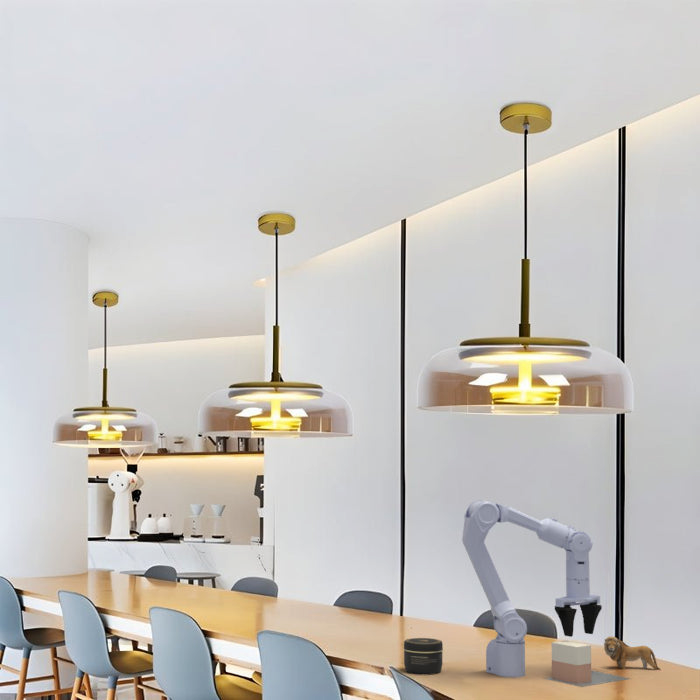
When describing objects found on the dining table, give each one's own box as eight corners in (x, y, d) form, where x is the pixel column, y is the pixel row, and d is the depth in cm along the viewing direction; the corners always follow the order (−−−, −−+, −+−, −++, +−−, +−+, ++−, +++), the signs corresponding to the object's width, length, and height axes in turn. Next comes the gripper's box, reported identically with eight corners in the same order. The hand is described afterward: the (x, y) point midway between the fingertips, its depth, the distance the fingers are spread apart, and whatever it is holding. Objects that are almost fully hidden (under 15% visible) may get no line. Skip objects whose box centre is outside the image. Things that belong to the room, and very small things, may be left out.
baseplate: (543, 682, 241) (543, 678, 241) (592, 674, 252) (592, 670, 252) (581, 691, 232) (581, 686, 232) (631, 682, 242) (631, 678, 242)
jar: (408, 666, 260) (408, 636, 261) (446, 669, 257) (446, 638, 258) (399, 673, 250) (399, 642, 251) (438, 676, 248) (438, 644, 249)
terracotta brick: (551, 678, 242) (551, 660, 242) (565, 675, 245) (565, 658, 245) (577, 683, 235) (577, 665, 236) (591, 681, 238) (591, 663, 239)
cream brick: (551, 660, 242) (551, 642, 243) (565, 658, 245) (565, 640, 246) (577, 665, 236) (577, 647, 236) (591, 663, 239) (591, 645, 239)
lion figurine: (608, 674, 252) (607, 638, 254) (601, 670, 258) (600, 634, 259) (664, 674, 253) (663, 638, 255) (656, 670, 259) (655, 634, 260)
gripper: (570, 582, 243) (571, 639, 241) (609, 579, 252) (610, 634, 250) (548, 579, 249) (549, 635, 247) (587, 576, 257) (588, 630, 255)
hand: (578, 634), depth 249 cm, fingers open, 7 cm apart
